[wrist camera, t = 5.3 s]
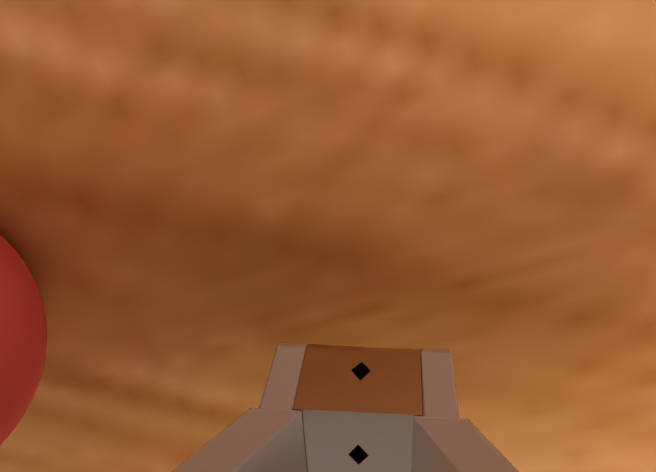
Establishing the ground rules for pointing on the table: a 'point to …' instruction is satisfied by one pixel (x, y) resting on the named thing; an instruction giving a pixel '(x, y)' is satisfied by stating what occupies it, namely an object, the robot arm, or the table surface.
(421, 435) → the robot arm
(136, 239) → the table surface
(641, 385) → the table surface
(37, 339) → the ball
